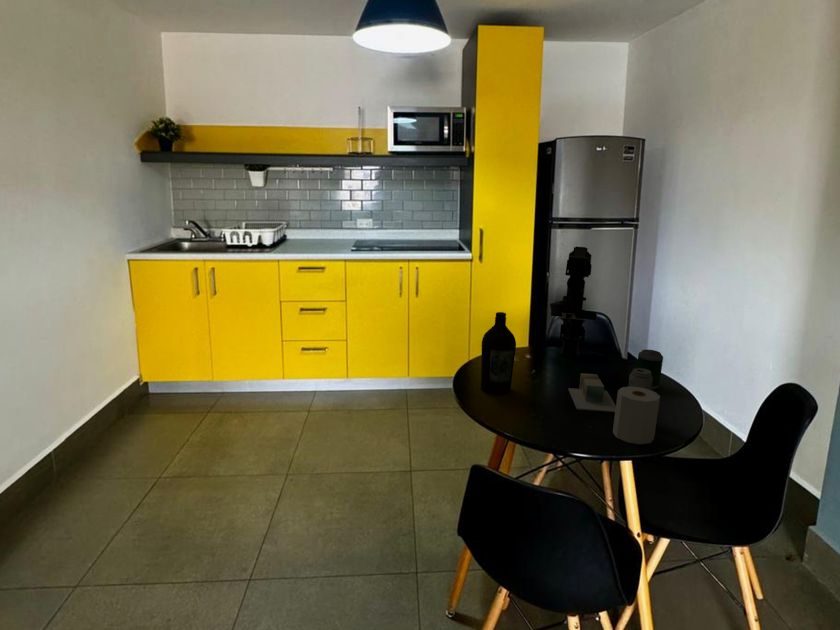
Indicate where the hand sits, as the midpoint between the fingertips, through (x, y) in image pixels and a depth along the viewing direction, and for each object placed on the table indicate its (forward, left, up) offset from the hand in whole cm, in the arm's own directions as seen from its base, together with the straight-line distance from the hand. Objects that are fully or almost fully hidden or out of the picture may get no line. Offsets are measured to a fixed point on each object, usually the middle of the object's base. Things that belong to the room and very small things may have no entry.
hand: (570, 339), depth 196 cm
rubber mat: (+19, +15, -12) cm, 27 cm away
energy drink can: (+27, +30, -12) cm, 42 cm away
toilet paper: (+37, +32, -12) cm, 50 cm away
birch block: (+12, +11, -9) cm, 18 cm away
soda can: (-3, +26, -12) cm, 29 cm away
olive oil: (+31, -12, -12) cm, 35 cm away
